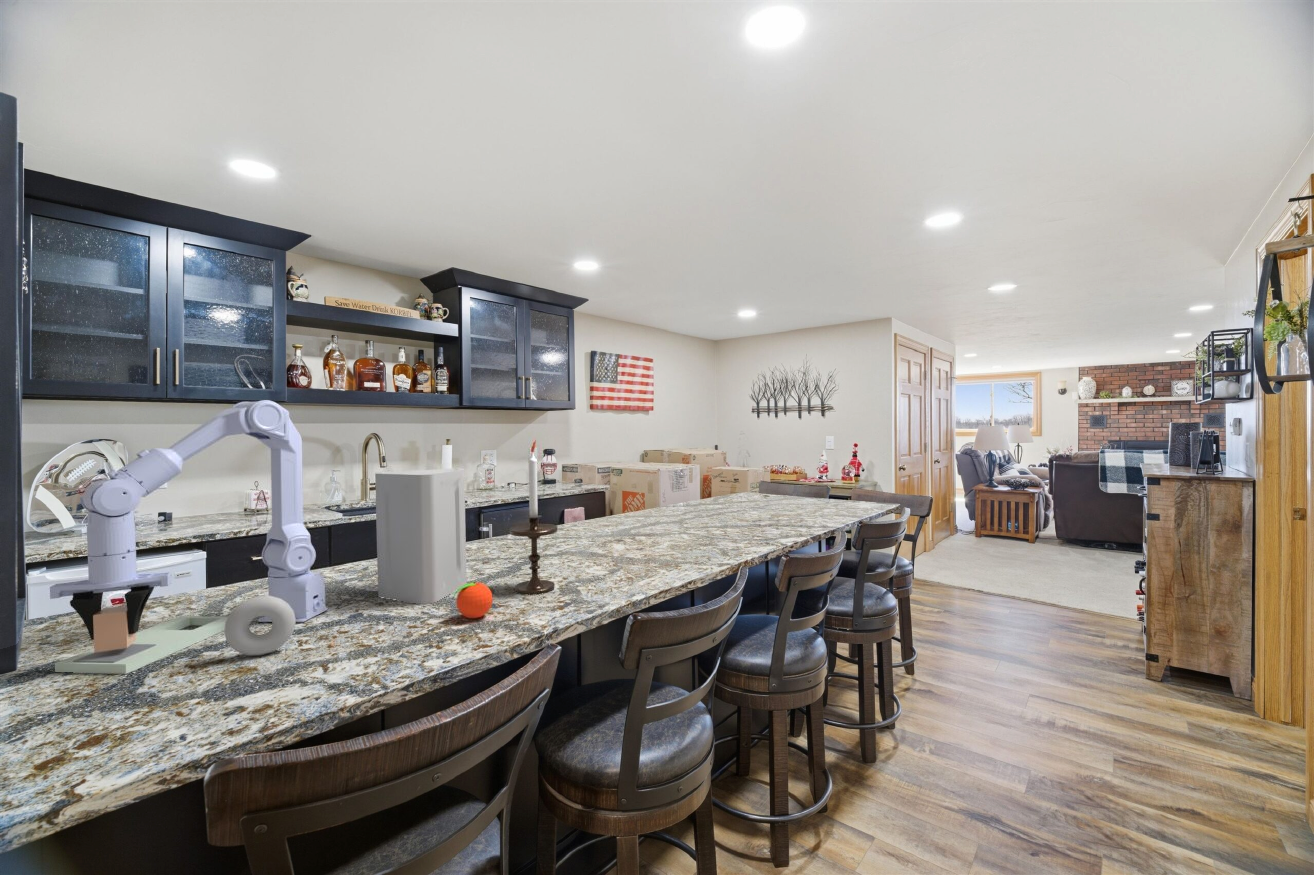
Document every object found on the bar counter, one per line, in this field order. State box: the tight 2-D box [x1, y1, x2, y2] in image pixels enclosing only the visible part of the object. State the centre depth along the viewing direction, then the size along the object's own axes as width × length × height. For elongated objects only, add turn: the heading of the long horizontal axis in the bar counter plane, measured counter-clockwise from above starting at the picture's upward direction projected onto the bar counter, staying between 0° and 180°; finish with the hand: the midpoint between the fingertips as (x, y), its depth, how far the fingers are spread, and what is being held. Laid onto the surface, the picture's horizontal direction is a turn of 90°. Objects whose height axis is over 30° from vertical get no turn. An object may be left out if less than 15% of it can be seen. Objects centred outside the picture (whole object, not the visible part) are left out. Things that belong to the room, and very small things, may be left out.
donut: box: [223, 595, 297, 657], centre depth 96 cm, size 10×4×10 cm, turn 118°
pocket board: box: [54, 615, 228, 675], centre depth 100 cm, size 12×22×2 cm, turn 176°
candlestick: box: [509, 439, 559, 596], centre depth 132 cm, size 11×11×35 cm
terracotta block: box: [93, 605, 137, 653], centre depth 93 cm, size 4×4×6 cm
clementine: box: [451, 581, 494, 619], centre depth 113 cm, size 8×7×7 cm
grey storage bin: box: [374, 467, 468, 605], centre depth 129 cm, size 19×15×28 cm
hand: (115, 634), depth 93 cm, fingers closed on terracotta block, 4 cm apart
